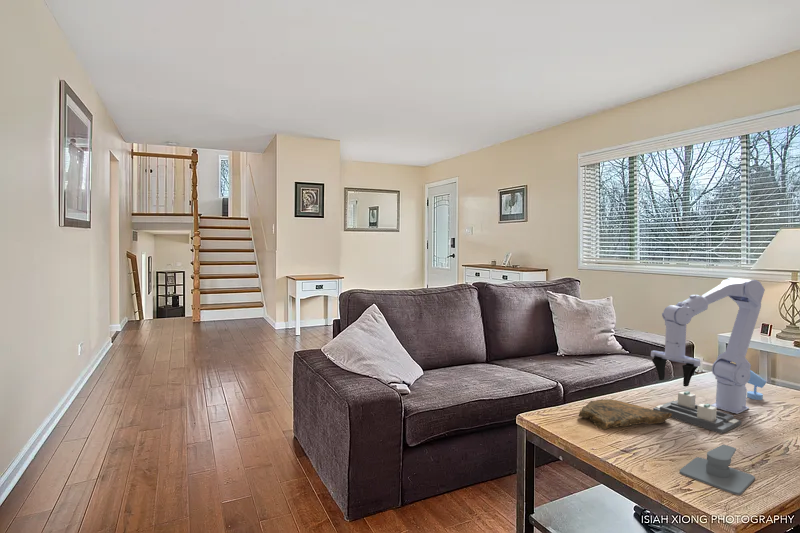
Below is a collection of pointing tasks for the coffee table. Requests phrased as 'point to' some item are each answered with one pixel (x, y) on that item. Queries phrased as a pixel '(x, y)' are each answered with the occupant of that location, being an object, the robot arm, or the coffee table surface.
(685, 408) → the switch bank
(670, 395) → the coffee table surface
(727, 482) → the shower valve
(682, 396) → the tab
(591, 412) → the rock
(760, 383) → the spotlight
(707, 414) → the tab
